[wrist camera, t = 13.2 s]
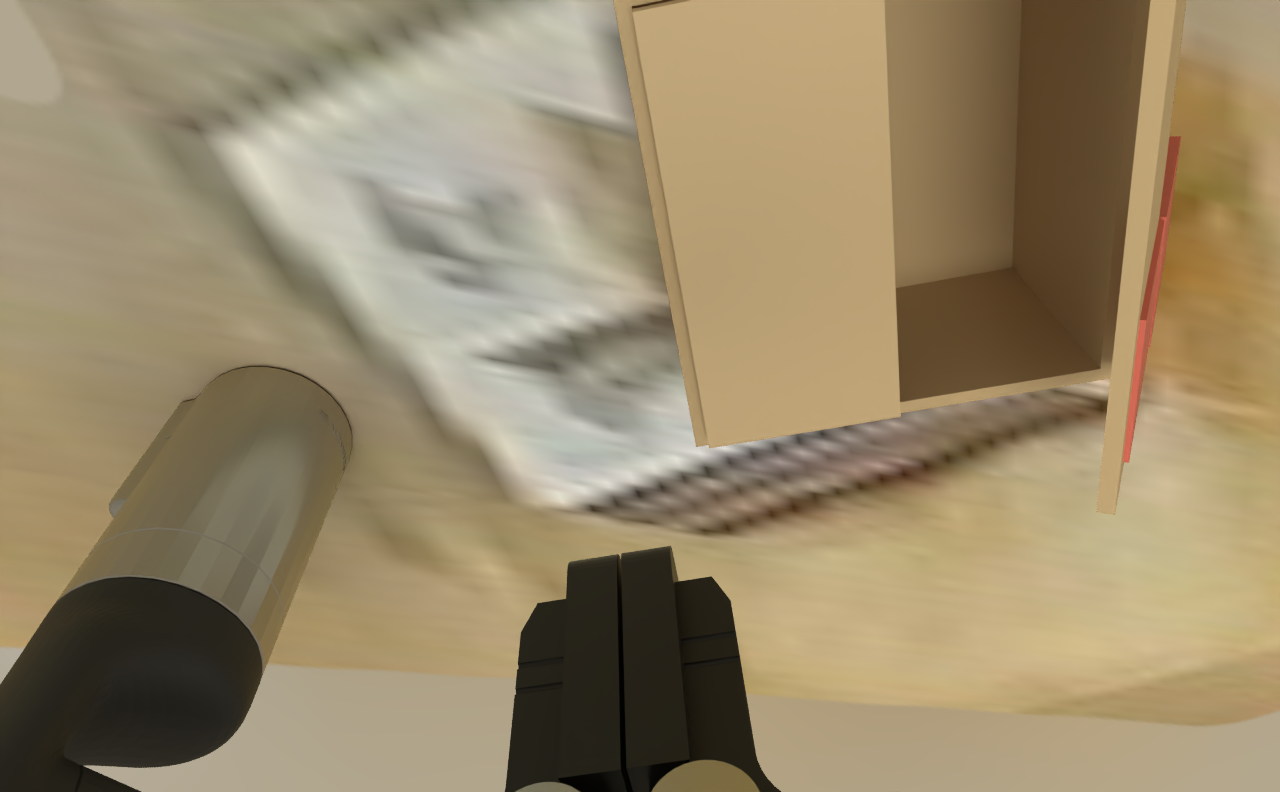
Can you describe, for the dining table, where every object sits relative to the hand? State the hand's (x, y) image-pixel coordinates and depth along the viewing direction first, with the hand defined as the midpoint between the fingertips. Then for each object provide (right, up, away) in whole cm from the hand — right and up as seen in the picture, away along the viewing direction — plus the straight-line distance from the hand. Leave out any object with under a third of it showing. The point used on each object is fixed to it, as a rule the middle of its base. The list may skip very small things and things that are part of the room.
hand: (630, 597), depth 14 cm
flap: (+20, +12, +22) cm, 32 cm away
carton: (+10, +17, +33) cm, 38 cm away
